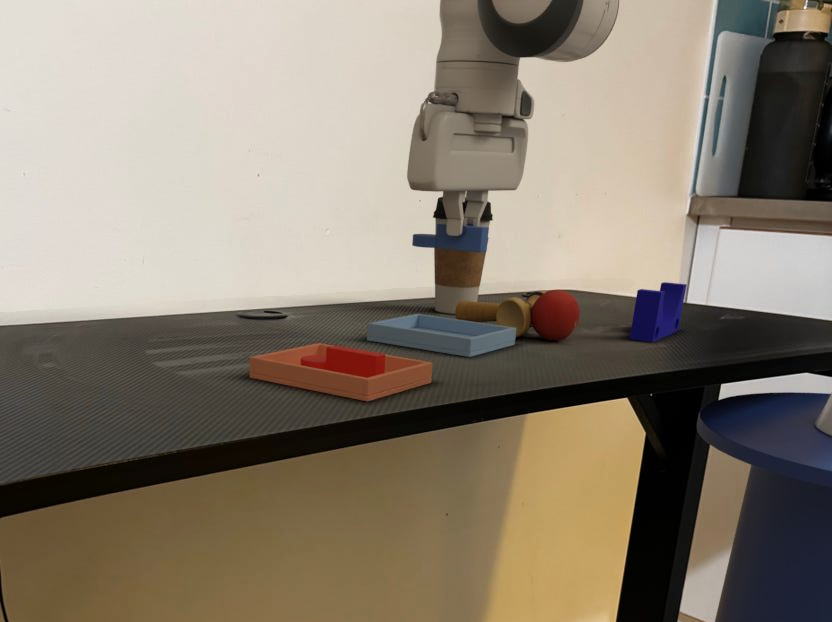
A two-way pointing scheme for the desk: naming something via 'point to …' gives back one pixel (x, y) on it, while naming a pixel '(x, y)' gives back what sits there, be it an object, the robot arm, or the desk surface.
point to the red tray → (339, 374)
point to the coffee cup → (457, 267)
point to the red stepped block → (348, 361)
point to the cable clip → (657, 312)
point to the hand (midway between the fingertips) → (462, 235)
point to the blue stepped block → (454, 239)
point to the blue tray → (441, 334)
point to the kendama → (528, 313)
